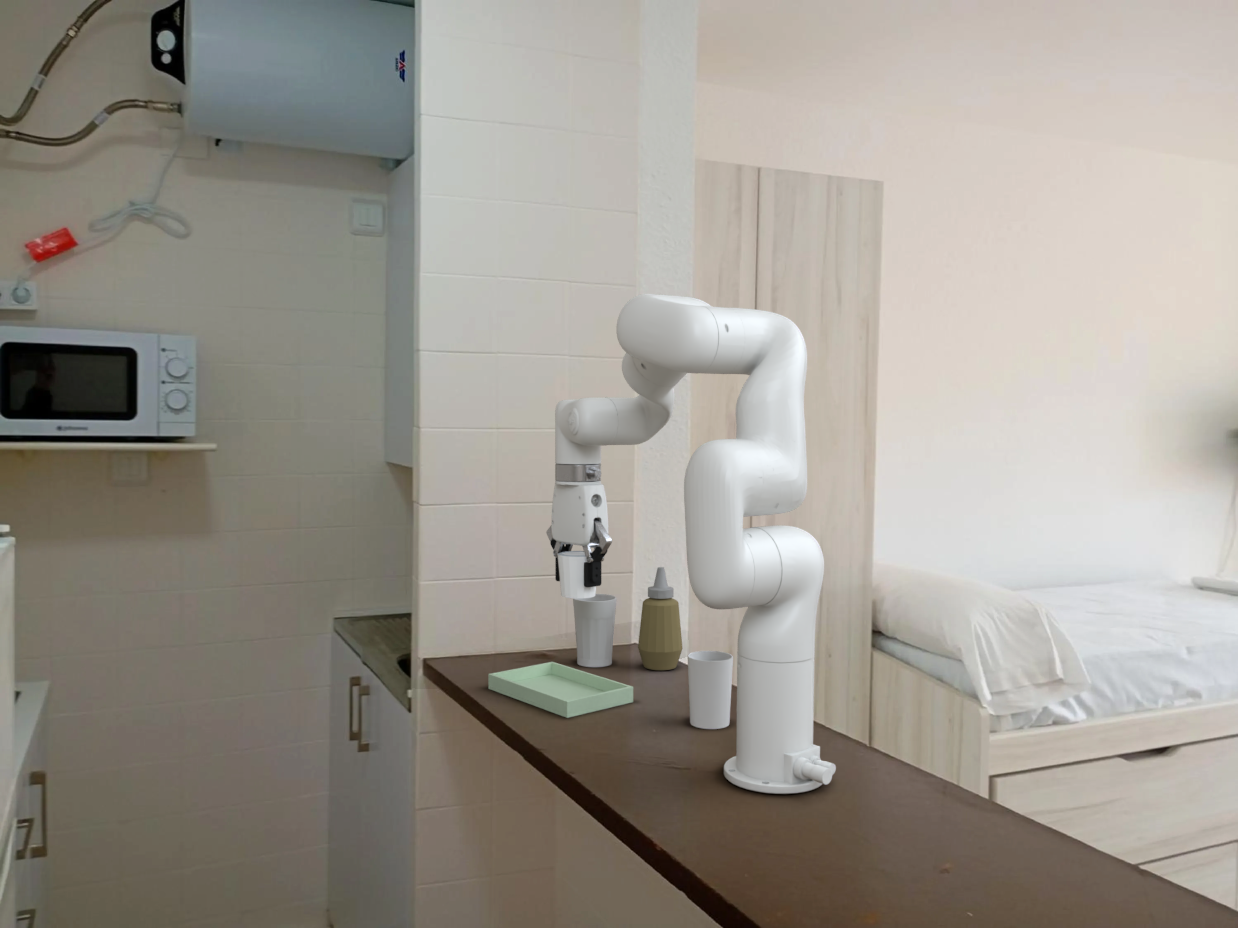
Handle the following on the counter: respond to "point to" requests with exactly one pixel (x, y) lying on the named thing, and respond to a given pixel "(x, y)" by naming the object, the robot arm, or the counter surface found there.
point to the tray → (560, 689)
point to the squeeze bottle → (660, 626)
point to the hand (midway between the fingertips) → (578, 582)
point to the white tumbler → (710, 688)
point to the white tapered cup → (573, 575)
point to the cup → (594, 629)
